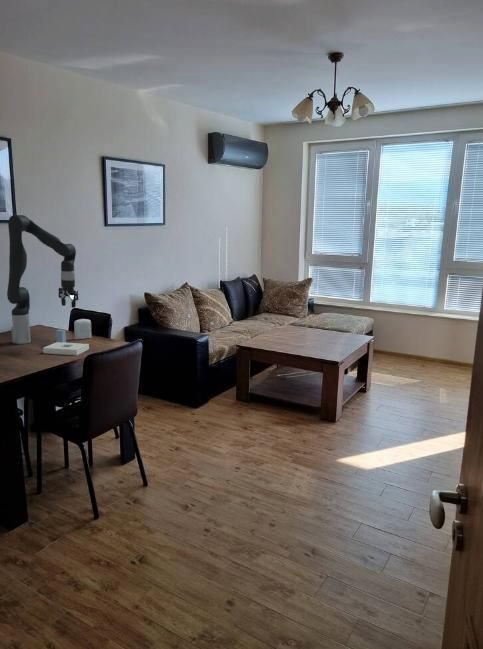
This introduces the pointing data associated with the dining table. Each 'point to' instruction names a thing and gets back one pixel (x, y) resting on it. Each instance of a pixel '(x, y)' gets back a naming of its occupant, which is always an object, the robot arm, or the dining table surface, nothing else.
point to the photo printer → (82, 329)
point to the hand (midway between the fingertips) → (68, 306)
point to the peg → (61, 336)
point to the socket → (66, 348)
